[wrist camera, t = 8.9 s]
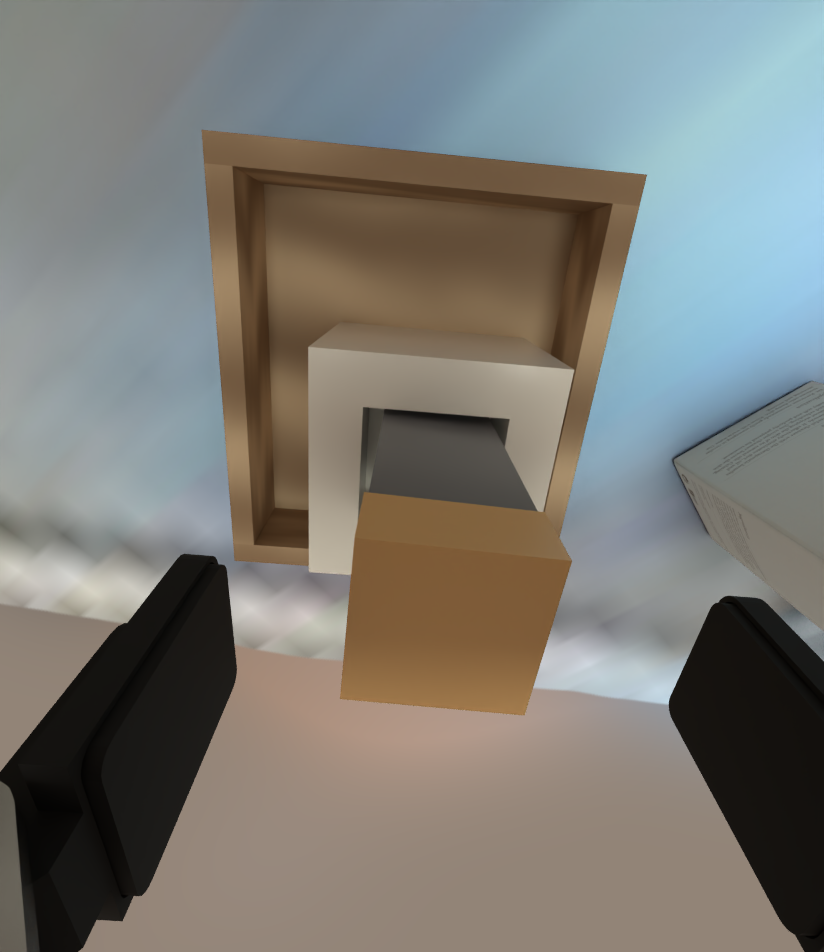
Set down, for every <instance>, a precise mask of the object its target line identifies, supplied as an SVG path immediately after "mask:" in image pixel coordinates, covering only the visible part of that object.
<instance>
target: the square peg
mask: <svg viewBox="0 0 824 952" xmlns="http://www.w3.org/2000/svg"><path fill="white" fill-rule="evenodd" d="M571 562H572V560H571V558H570V556H569V555H568V553H567V551H566V549H565V547H564V546H563V544H562V542H561V540H560V538H559V536H558V535H557V533H556V531H555V529H554V527H553V526H552V524H551V522H550V520H549V518H548V516H547V515H546V513H545V512H539V511H537V509H536V507H535V505H534V503H533V501H532V499H531V497H530V495H529V493H528V492H527V490H526V488H525V486H524V484H523V482H522V480H521V478H520V476H519V474H518V472H517V470H516V468H515V467H514V465H513V463H512V461H511V459H510V457H509V455H508V453H507V451H506V449H505V447H504V445H503V444H502V442H501V440H500V438H499V436H498V434H497V432H496V430H495V428H494V426H493V424H492V422H491V420H490V419H489V417H480V416H468V415H455V414H443V413H431V412H419V411H406V410H394V409H384V414H383V419H382V425H381V430H380V435H379V441H378V446H377V451H376V457H375V462H374V467H373V473H372V478H371V483H370V489H369V492H364V495H363V499H362V504H361V509H360V514H359V518H358V523H357V528H356V533H355V538H354V549H353V560H352V571H351V582H350V593H349V605H348V616H347V627H346V638H345V650H344V661H343V672H342V684H341V695H340V699H347V700H357V701H368V702H379V703H391V704H402V705H413V706H425V707H436V708H447V709H458V710H469V711H480V712H492V713H503V714H514V715H525V712H526V708H527V705H528V702H529V699H530V696H531V692H532V689H533V686H534V683H535V679H536V676H537V673H538V670H539V666H540V663H541V660H542V657H543V653H544V650H545V647H546V644H547V640H548V637H549V634H550V631H551V627H552V624H553V621H554V618H555V614H556V611H557V608H558V605H559V601H560V598H561V595H562V592H563V588H564V585H565V582H566V579H567V575H568V572H569V569H570V566H571Z"/></svg>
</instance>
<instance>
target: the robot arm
mask: <svg viewBox="0 0 824 952" xmlns="http://www.w3.org/2000/svg"><path fill="white" fill-rule="evenodd" d="M235 656H236V655H235V646H234V636H233V626H232V616H231V607H230V597H229V587H228V578H227V570H226V567H225V565H218V562H217V559H216V558H215V557H214V556H204V555H191V554H183V555H181V556H180V557H179V558H178V559H177V560H176V561H175V563H174V564H173V565H172V566H171V568H170V569H169V570H168V572H167V573H166V574H165V575H164V577H163V578H162V579H161V581H160V582H159V583H158V584H157V586H156V587H155V588H154V590H153V591H152V592H151V593H150V595H149V596H148V597H147V599H146V600H145V601H144V602H143V604H142V605H141V606H140V608H139V609H138V610H137V611H136V613H135V614H134V615H133V617H132V618H131V619H130V620H129V622H128V623H124V624H122V625H120V626H118V627H117V628H116V629H115V630H114V631H113V632H112V633H111V634H110V635H109V637H108V638H107V639H106V640H105V642H104V643H103V644H102V645H101V647H100V648H99V649H98V650H97V652H96V653H95V654H94V655H93V657H92V658H91V659H90V661H89V662H88V663H87V664H86V665H85V667H84V668H83V669H82V670H81V672H80V673H79V674H78V675H77V677H76V678H75V679H74V680H73V682H72V683H71V684H70V685H69V687H68V688H67V689H66V690H65V692H64V693H63V694H62V695H61V697H60V698H59V699H58V700H57V702H56V703H55V704H54V705H53V707H52V708H51V709H50V710H49V712H48V713H47V714H46V715H45V717H44V718H43V719H42V720H41V722H40V723H39V724H38V725H37V727H36V728H35V729H34V730H33V732H32V733H31V734H30V736H29V737H28V738H27V739H26V740H25V742H24V743H23V744H22V745H21V747H20V748H19V749H18V750H17V752H16V753H15V754H14V755H13V757H12V758H11V759H10V760H9V762H8V763H7V764H6V765H5V767H4V768H3V769H2V770H1V772H0V952H78V951H79V950H81V949H82V948H83V947H84V945H85V942H86V940H87V938H88V936H89V934H90V932H91V930H92V928H93V926H94V924H95V922H96V920H111V921H123V919H124V916H125V914H126V912H127V910H128V907H129V905H130V903H131V900H132V898H133V896H142V895H143V894H144V893H145V892H146V890H147V888H148V887H149V885H150V883H151V881H152V879H153V876H154V874H155V871H156V869H157V867H158V864H159V862H160V860H161V857H162V855H163V853H164V850H165V848H166V846H167V843H168V841H169V838H170V836H171V834H172V831H173V829H174V826H175V824H176V822H177V820H178V817H179V815H180V812H181V810H182V808H183V805H184V803H185V801H186V798H187V796H188V794H189V791H190V789H191V786H192V784H193V782H194V779H195V777H196V775H197V772H198V770H199V767H200V765H201V763H202V760H203V758H204V756H205V753H206V751H207V749H208V746H209V744H210V741H211V739H212V736H213V734H214V732H215V730H216V727H217V725H218V722H219V720H220V718H221V715H222V713H223V711H224V708H225V706H226V704H227V701H228V699H229V696H230V694H231V692H232V689H233V687H234V683H235V679H236V673H237V665H236V657H235ZM669 711H670V715H671V718H672V720H673V722H674V723H675V726H676V727H677V729H678V731H679V733H680V735H681V737H682V739H683V741H684V742H685V744H686V746H687V748H688V750H689V752H690V754H691V755H692V757H693V759H694V761H695V763H696V765H697V766H698V768H699V770H700V772H701V774H702V776H703V778H704V779H705V781H706V783H707V785H708V787H709V789H710V791H711V792H712V794H713V796H714V798H715V800H716V802H717V804H718V805H719V807H720V809H721V811H722V813H723V815H724V817H725V819H726V821H727V822H728V824H729V826H730V828H731V830H732V832H733V833H734V835H735V837H736V839H737V841H738V843H739V845H740V846H741V848H742V850H743V852H744V854H745V856H746V858H747V860H748V861H749V863H750V865H751V867H752V869H753V871H754V873H755V875H756V876H757V878H758V880H759V882H760V884H761V886H762V887H763V889H764V891H765V893H766V895H767V897H768V899H769V901H770V902H771V904H772V906H773V908H774V910H775V912H776V914H777V915H778V917H779V919H780V920H781V922H782V924H783V925H784V926H785V927H786V928H787V929H788V930H789V931H790V932H792V933H793V934H795V935H796V937H797V939H798V941H799V943H800V944H801V946H802V948H803V950H804V952H824V661H823V660H822V659H821V658H820V657H819V656H818V655H817V654H816V653H815V652H814V651H813V650H812V649H811V648H810V647H809V646H808V645H807V644H806V643H805V642H804V641H803V640H802V639H801V638H800V637H799V636H798V635H797V634H796V633H795V632H794V631H793V630H792V629H791V628H790V627H789V626H788V625H787V624H786V623H785V622H784V621H783V620H782V618H781V617H780V616H779V615H778V614H777V613H776V612H775V611H774V610H773V609H772V608H771V607H770V606H769V605H768V604H767V603H766V602H764V601H763V600H761V599H758V598H750V597H737V596H725V597H723V598H722V599H721V600H720V601H719V603H715V604H714V605H713V606H712V607H711V609H710V611H709V613H708V615H707V618H706V620H705V622H704V624H703V626H702V629H701V631H700V633H699V635H698V637H697V640H696V642H695V644H694V646H693V648H692V651H691V653H690V655H689V657H688V659H687V661H686V664H685V666H684V668H683V670H682V672H681V675H680V677H679V679H678V681H677V683H676V686H675V688H674V690H673V692H672V694H671V697H670V700H669Z"/></svg>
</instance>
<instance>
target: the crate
mask: <svg viewBox="0 0 824 952" xmlns="http://www.w3.org/2000/svg"><path fill="white" fill-rule="evenodd" d="M202 140H203V153H204V166H205V179H206V192H207V205H208V218H209V231H210V244H211V257H212V271H213V284H214V297H215V310H216V323H217V336H218V349H219V362H220V375H221V388H222V401H223V414H224V427H225V440H226V453H227V466H228V479H229V492H230V506H231V519H232V532H233V545H234V558H235V561H248V562H262V563H276V564H291V565H305V566H309V442H308V347H309V346H310V345H311V344H313V343H314V342H315V341H316V340H318V339H319V338H320V337H322V336H323V335H324V334H326V333H327V332H328V331H329V330H331V329H332V328H333V327H335V326H336V325H337V324H338V323H340V322H349V323H360V324H372V325H383V326H394V327H406V328H417V329H429V330H440V331H452V332H463V333H474V334H486V335H497V336H509V337H520V338H525V339H526V340H528V341H529V342H531V343H533V344H534V345H536V346H537V347H539V348H541V349H542V350H544V351H545V352H547V353H549V354H550V355H552V356H553V357H555V358H557V359H558V360H560V361H561V362H563V363H565V364H566V365H568V366H569V367H571V368H573V369H574V374H573V378H572V383H571V388H570V392H569V397H568V401H567V406H566V410H565V415H564V419H563V424H562V428H561V433H560V438H559V442H558V447H557V451H556V456H555V460H554V465H553V469H552V474H551V479H550V483H549V488H548V492H547V497H546V501H545V506H544V510H543V512H545V513H546V515H547V516H548V518H549V520H550V522H551V524H552V526H553V527H554V529H555V531H556V533H557V535H558V536H559V537H560V533H561V529H562V525H563V520H564V516H565V512H566V508H567V504H568V500H569V496H570V491H571V487H572V483H573V479H574V475H575V471H576V467H577V462H578V458H579V454H580V450H581V446H582V442H583V438H584V433H585V429H586V425H587V421H588V417H589V413H590V409H591V404H592V400H593V396H594V392H595V388H596V384H597V380H598V375H599V371H600V367H601V363H602V359H603V355H604V350H605V346H606V342H607V338H608V334H609V330H610V326H611V321H612V317H613V313H614V309H615V305H616V301H617V297H618V292H619V288H620V284H621V280H622V276H623V272H624V268H625V263H626V259H627V255H628V251H629V247H630V243H631V239H632V234H633V230H634V226H635V222H636V218H637V214H638V210H639V205H640V201H641V197H642V193H643V189H644V185H645V181H646V176H647V175H644V174H634V173H624V172H614V171H604V170H594V169H584V168H574V167H564V166H555V165H545V164H535V163H525V162H515V161H505V160H495V159H485V158H475V157H465V156H456V155H446V154H436V153H426V152H416V151H406V150H396V149H386V148H376V147H366V146H356V145H347V144H337V143H327V142H317V141H307V140H297V139H287V138H277V137H267V136H257V135H248V134H238V133H228V132H218V131H208V130H202Z"/></svg>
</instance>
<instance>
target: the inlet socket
mask: <svg viewBox="0 0 824 952" xmlns="http://www.w3.org/2000/svg"><path fill="white" fill-rule="evenodd" d="M573 374H574V369H573V368H571V367H569V366H568V365H566V364H565V363H563V362H561V361H560V360H558V359H557V358H555V357H553V356H552V355H550V354H549V353H547V352H545V351H544V350H542V349H541V348H539V347H537V346H536V345H534V344H533V343H531V342H529V341H528V340H526V339H525V338H520V337H509V336H497V335H486V334H474V333H463V332H452V331H440V330H429V329H417V328H406V327H394V326H383V325H372V324H360V323H349V322H340V323H338V324H337V325H336V326H335V327H333V328H332V329H331V330H329V331H328V332H327V333H326V334H324V335H323V336H322V337H320V338H319V339H318V340H316V341H315V342H314V343H313V344H311V345H310V346H309V347H308V442H309V572H316V573H331V574H345V575H351V571H352V560H353V549H354V538H355V533H356V528H357V523H358V518H359V514H360V509H361V504H362V499H363V495H364V492H369V489H370V483H371V478H372V473H373V467H374V462H375V457H376V451H377V446H378V441H379V435H380V430H381V425H382V419H383V414H384V409H394V410H406V411H419V412H431V413H443V414H455V415H468V416H480V417H489V419H490V420H491V422H492V424H493V426H494V428H495V430H496V432H497V434H498V436H499V438H500V440H501V442H502V444H503V445H504V447H505V449H506V451H507V453H508V455H509V457H510V459H511V461H512V463H513V465H514V467H515V468H516V470H517V472H518V474H519V476H520V478H521V480H522V482H523V484H524V486H525V488H526V490H527V492H528V493H529V495H530V497H531V499H532V501H533V503H534V505H535V507H536V509H537V511H539V512H543V510H544V506H545V501H546V497H547V492H548V488H549V483H550V479H551V474H552V469H553V465H554V460H555V456H556V451H557V447H558V442H559V438H560V433H561V428H562V424H563V419H564V415H565V410H566V406H567V401H568V397H569V392H570V388H571V383H572V378H573Z"/></svg>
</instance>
